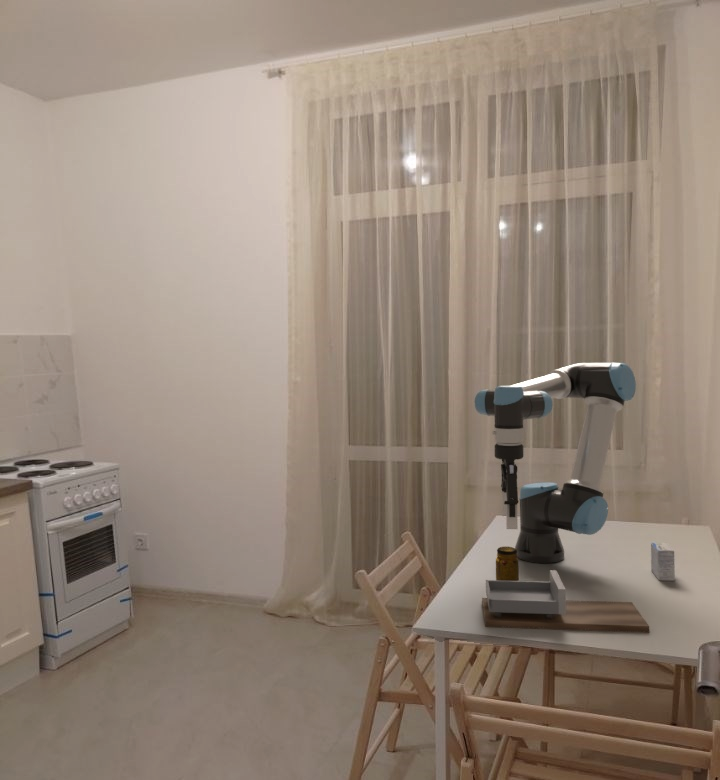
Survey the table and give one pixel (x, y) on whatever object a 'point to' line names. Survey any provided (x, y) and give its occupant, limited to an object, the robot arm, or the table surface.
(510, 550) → the condiment
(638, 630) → the rail board
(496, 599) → the cart
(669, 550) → the medicine box
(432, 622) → the table surface
